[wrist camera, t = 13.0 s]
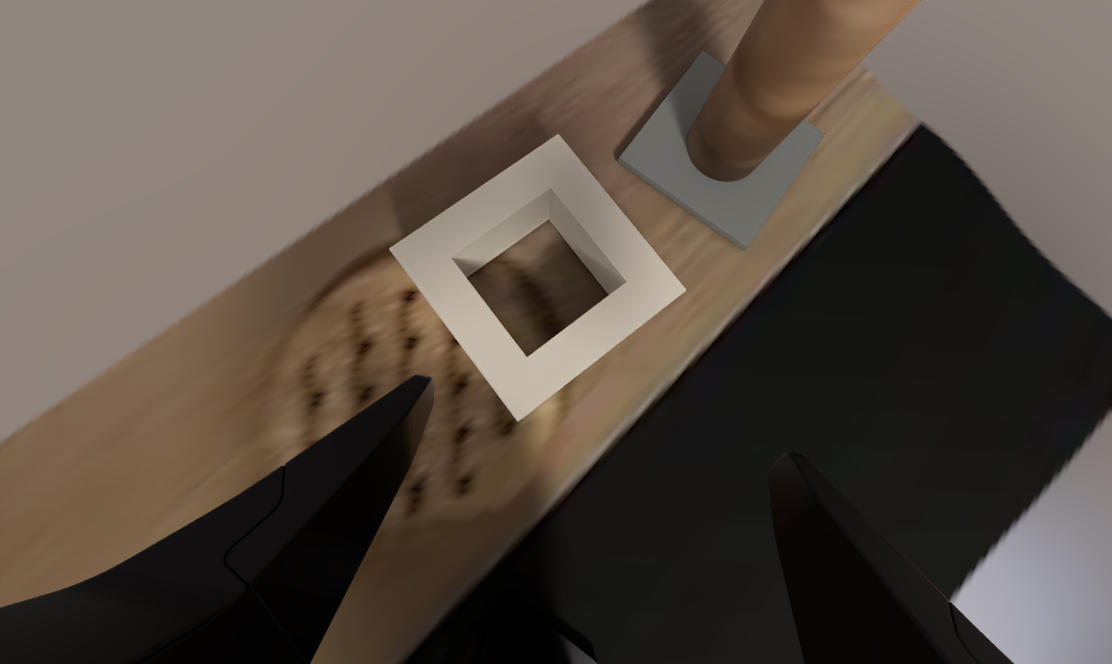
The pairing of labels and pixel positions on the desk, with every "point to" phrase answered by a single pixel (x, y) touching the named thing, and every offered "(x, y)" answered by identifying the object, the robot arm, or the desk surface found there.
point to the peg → (783, 77)
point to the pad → (713, 202)
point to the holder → (502, 220)
